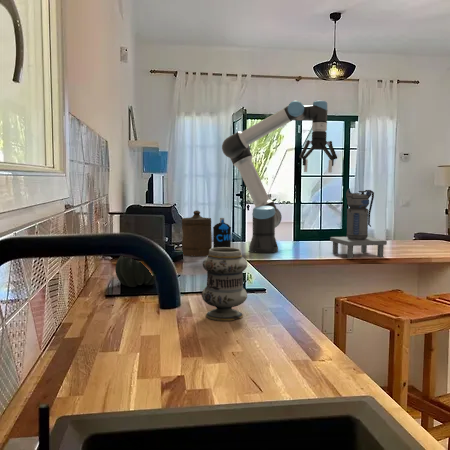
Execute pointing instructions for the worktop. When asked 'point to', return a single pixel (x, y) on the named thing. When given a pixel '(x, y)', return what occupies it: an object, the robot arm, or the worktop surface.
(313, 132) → the robot arm
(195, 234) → the wooden container
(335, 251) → the stool
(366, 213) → the beverage bottle
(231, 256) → the apothecary jar
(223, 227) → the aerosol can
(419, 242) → the worktop surface
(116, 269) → the squash
